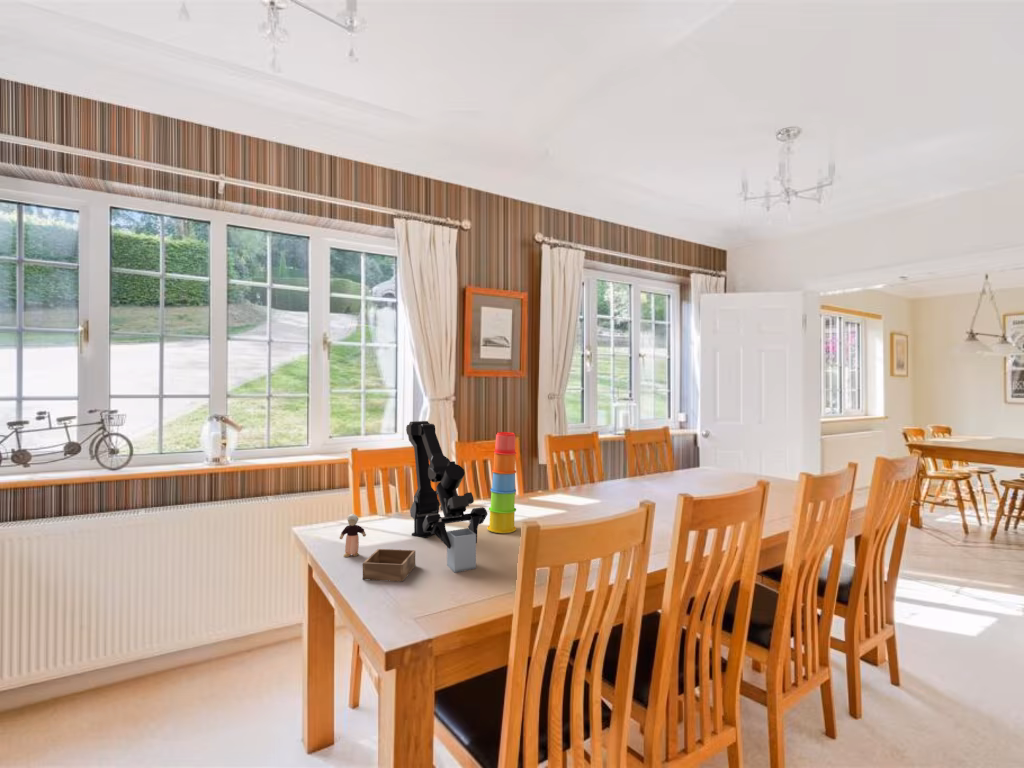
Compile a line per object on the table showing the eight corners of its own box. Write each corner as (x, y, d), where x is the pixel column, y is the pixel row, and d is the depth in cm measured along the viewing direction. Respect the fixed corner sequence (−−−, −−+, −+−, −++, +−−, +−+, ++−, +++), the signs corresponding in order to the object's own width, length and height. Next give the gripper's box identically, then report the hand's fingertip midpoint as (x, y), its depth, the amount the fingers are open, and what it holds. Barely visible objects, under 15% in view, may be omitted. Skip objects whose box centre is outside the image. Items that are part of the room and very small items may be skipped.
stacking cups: (490, 524, 187) (490, 430, 186) (518, 526, 185) (518, 431, 184) (484, 533, 177) (484, 434, 176) (513, 535, 175) (513, 434, 174)
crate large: (378, 564, 149) (378, 548, 148) (415, 565, 147) (415, 550, 147) (362, 579, 137) (362, 563, 137) (402, 581, 136) (402, 564, 136)
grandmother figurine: (341, 559, 152) (340, 517, 152) (339, 555, 156) (338, 514, 156) (367, 554, 156) (367, 513, 156) (364, 551, 159) (364, 510, 159)
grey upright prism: (446, 565, 147) (446, 531, 147) (467, 561, 150) (467, 528, 150) (454, 572, 142) (454, 537, 142) (475, 568, 145) (475, 533, 145)
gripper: (425, 487, 145) (438, 536, 135) (484, 480, 154) (501, 526, 144) (417, 508, 152) (429, 556, 143) (474, 500, 161) (489, 545, 151)
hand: (463, 545), depth 145 cm, fingers open, 8 cm apart
